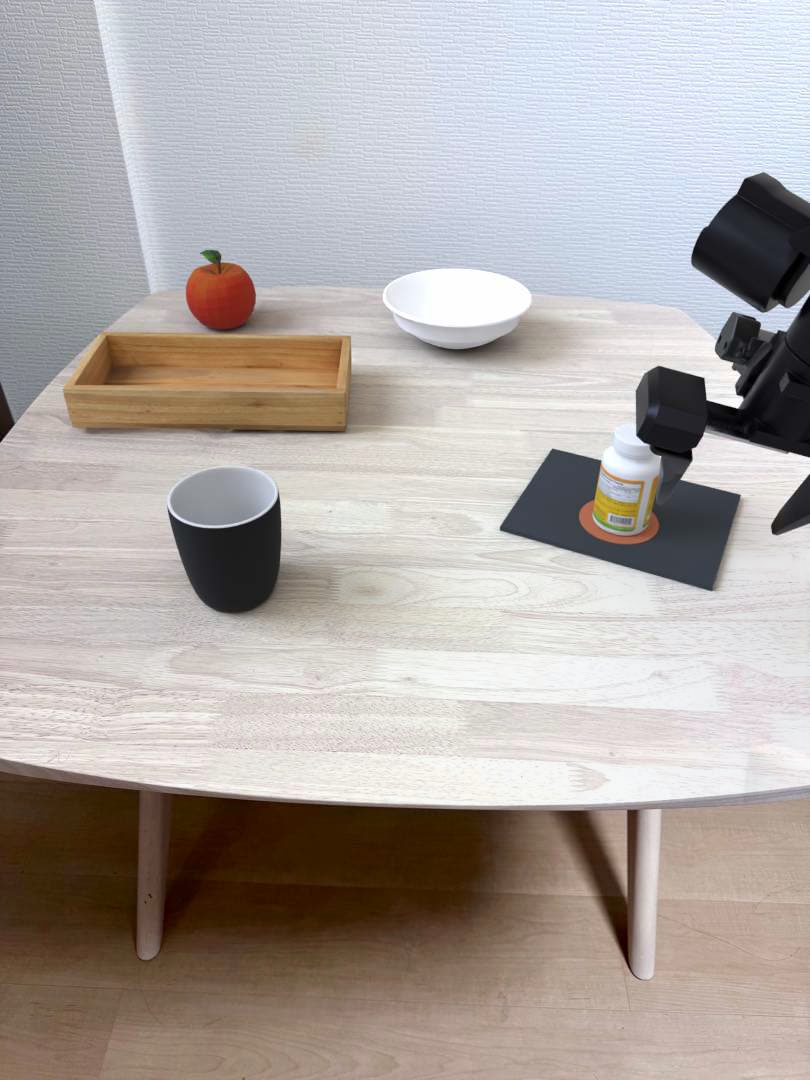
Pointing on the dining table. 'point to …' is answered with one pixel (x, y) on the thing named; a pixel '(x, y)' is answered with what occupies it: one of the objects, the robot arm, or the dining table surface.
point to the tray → (212, 382)
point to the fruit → (220, 293)
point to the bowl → (457, 306)
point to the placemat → (661, 549)
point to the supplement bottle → (626, 484)
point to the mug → (228, 535)
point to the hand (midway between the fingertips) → (716, 515)
